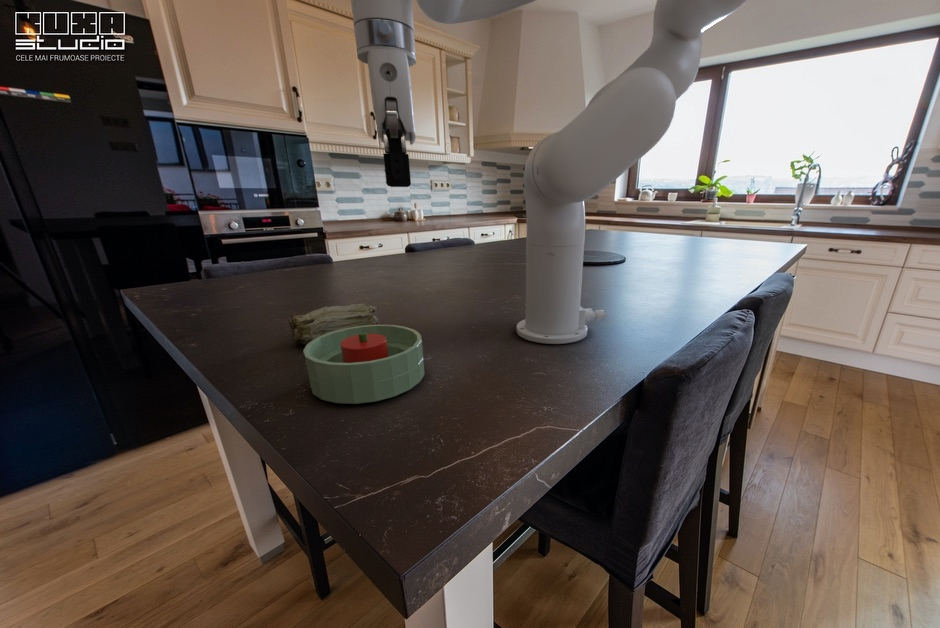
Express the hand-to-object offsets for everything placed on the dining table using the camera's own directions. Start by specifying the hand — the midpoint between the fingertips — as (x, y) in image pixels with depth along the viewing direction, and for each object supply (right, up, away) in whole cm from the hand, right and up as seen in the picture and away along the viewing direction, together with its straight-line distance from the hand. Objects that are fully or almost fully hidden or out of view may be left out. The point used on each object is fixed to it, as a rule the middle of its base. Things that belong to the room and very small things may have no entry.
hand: (399, 186), depth 58 cm
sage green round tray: (-2, -28, -5) cm, 29 cm away
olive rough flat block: (-14, -22, +10) cm, 28 cm away
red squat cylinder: (-2, -28, -6) cm, 28 cm away
